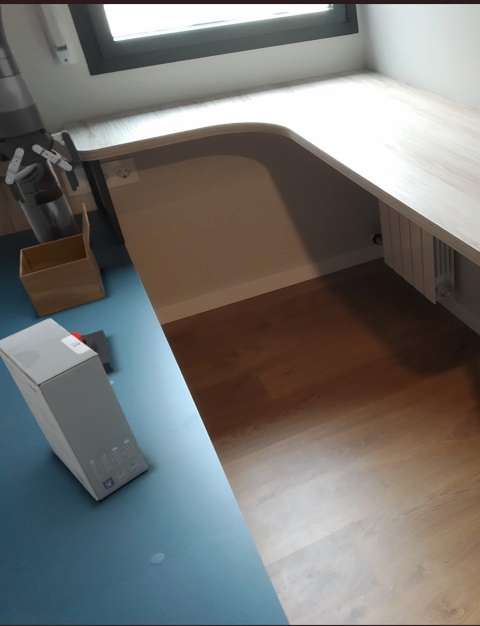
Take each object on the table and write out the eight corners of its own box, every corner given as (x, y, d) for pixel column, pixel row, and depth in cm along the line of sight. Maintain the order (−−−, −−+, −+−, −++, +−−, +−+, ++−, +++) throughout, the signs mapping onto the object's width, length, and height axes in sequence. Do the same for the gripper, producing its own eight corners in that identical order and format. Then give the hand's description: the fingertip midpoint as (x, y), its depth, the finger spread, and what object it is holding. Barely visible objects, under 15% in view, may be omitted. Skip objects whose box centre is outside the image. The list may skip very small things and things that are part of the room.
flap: (82, 202, 133) (84, 202, 134) (82, 230, 136) (84, 230, 136) (87, 225, 122) (89, 225, 122) (87, 254, 125) (88, 254, 125)
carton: (38, 287, 137) (20, 249, 132) (99, 270, 141) (84, 232, 136) (39, 317, 125) (19, 277, 120) (105, 297, 130) (89, 257, 125)
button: (59, 346, 109) (55, 337, 107) (84, 338, 110) (79, 329, 109) (60, 357, 105) (55, 348, 104) (85, 349, 107) (81, 340, 106)
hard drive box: (151, 468, 86) (99, 354, 76) (98, 504, 82) (35, 387, 71) (102, 423, 96) (49, 315, 85) (52, 452, 91) (-11, 342, 80)
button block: (49, 357, 112) (40, 340, 110) (106, 339, 116) (99, 321, 114) (51, 393, 103) (41, 374, 101) (113, 371, 107) (105, 353, 105)
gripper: (55, 91, 108) (90, 179, 117) (-38, 108, 103) (6, 199, 112) (56, 100, 102) (92, 192, 111) (-42, 118, 97) (4, 213, 106)
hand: (49, 195), depth 111 cm, fingers open, 8 cm apart
